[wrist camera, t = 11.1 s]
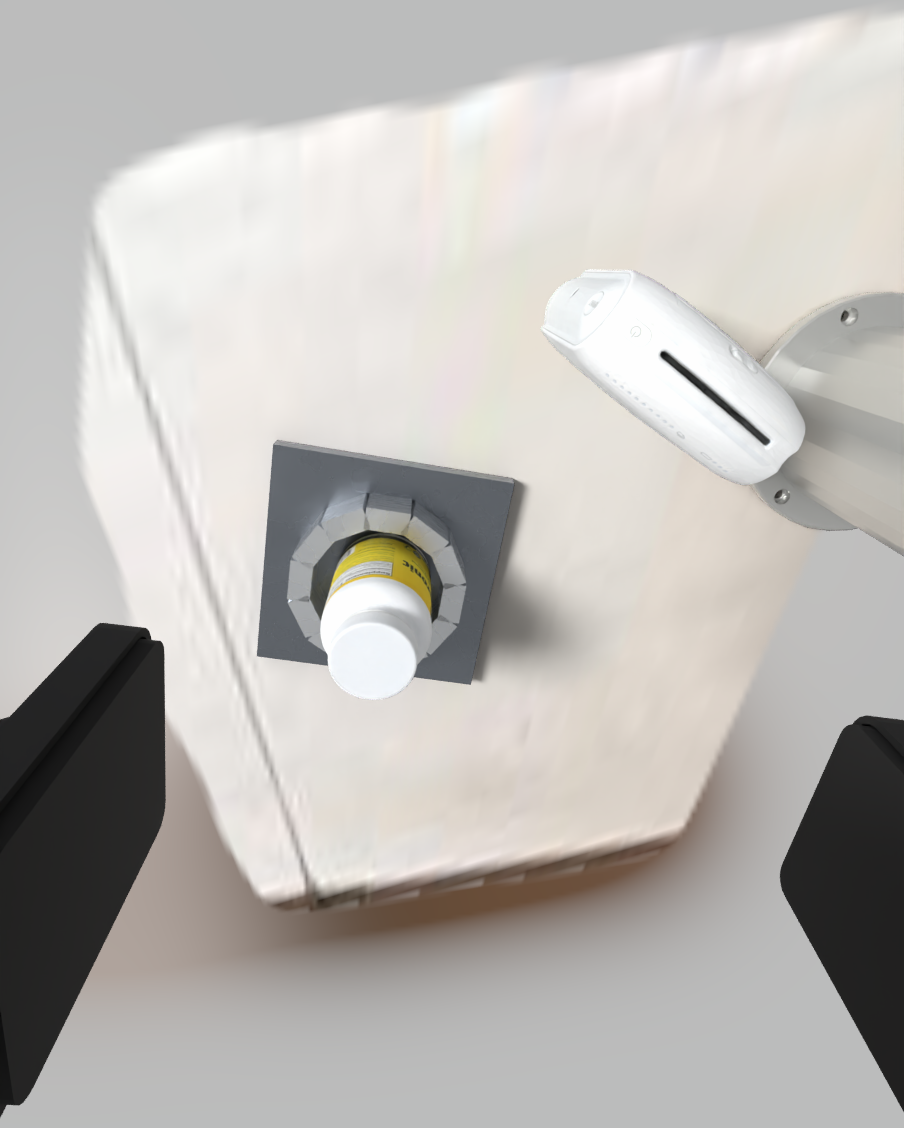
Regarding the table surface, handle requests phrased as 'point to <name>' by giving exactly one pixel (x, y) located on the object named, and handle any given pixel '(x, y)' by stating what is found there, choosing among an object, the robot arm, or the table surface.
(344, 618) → the supplement bottle
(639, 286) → the photo printer
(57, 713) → the robot arm
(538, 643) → the table surface
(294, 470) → the ring collar block
